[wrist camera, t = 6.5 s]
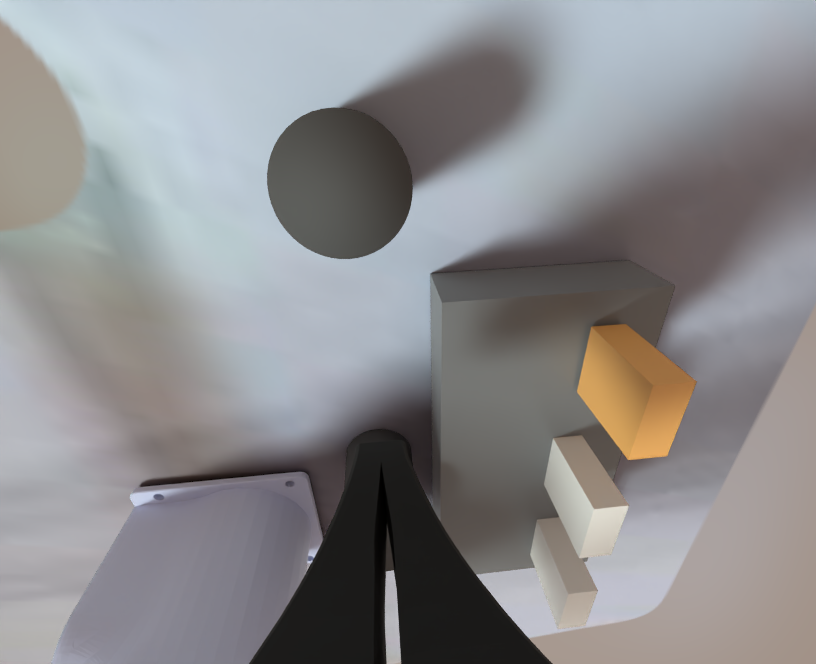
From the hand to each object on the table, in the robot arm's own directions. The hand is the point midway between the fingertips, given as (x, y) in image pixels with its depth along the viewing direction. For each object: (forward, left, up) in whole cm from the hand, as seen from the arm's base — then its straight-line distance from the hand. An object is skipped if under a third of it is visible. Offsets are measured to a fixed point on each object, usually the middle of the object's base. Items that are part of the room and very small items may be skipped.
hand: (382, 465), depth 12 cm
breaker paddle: (+9, 0, -4) cm, 10 cm away
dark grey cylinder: (0, +8, -8) cm, 11 cm away
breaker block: (+7, -6, -8) cm, 12 cm away
